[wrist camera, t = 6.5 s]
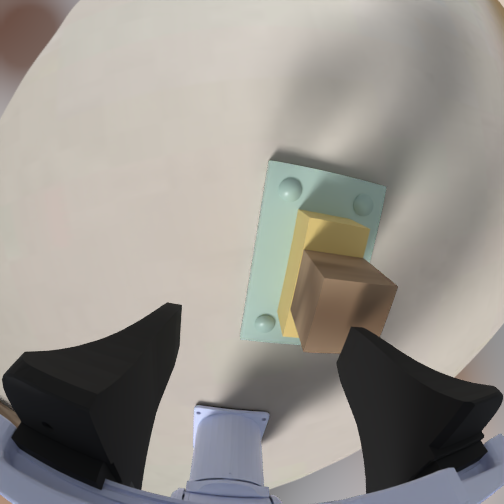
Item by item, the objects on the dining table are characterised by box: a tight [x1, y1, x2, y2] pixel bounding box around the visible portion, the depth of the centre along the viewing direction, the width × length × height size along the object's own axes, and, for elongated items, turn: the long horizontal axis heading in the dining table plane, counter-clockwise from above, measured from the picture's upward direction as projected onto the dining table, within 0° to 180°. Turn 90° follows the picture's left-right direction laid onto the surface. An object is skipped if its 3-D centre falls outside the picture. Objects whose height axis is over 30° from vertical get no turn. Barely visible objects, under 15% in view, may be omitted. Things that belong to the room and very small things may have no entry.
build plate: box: [240, 160, 386, 345], centre depth 20 cm, size 14×9×1 cm, turn 171°
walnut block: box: [290, 249, 398, 353], centre depth 14 cm, size 4×4×4 cm
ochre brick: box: [277, 209, 370, 338], centre depth 18 cm, size 8×4×4 cm, turn 171°
